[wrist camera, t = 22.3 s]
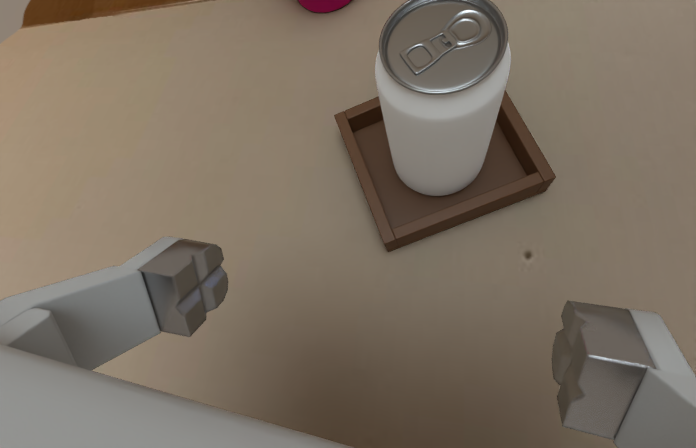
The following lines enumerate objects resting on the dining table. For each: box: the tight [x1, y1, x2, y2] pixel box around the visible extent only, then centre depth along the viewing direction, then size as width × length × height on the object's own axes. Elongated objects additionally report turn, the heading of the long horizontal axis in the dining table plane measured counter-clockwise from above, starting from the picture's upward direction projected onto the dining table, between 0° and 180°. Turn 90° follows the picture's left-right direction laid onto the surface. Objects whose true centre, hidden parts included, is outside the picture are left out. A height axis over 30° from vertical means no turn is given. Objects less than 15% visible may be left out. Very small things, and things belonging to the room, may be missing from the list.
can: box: [375, 0, 511, 196], centre depth 23 cm, size 6×6×12 cm
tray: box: [334, 91, 556, 252], centre depth 28 cm, size 12×11×2 cm
